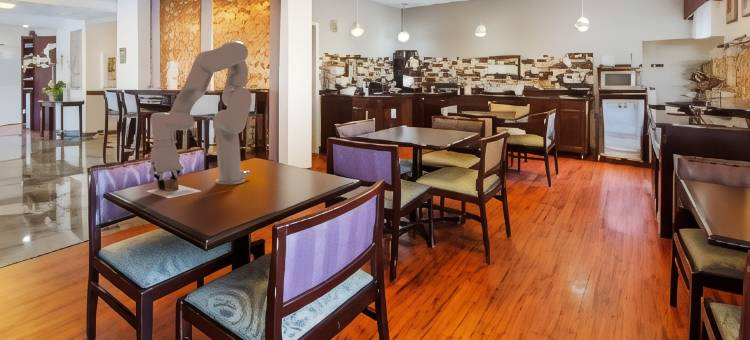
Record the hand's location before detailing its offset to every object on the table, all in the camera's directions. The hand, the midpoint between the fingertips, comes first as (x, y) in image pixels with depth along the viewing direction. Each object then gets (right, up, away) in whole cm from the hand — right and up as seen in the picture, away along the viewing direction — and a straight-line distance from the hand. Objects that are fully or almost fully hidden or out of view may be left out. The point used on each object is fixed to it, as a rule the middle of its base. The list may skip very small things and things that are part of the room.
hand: (168, 187), depth 187 cm
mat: (+3, -2, -3) cm, 5 cm away
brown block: (0, -1, 0) cm, 1 cm away
